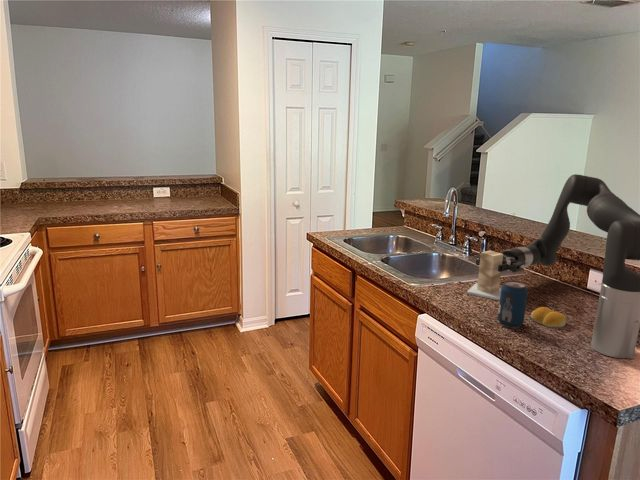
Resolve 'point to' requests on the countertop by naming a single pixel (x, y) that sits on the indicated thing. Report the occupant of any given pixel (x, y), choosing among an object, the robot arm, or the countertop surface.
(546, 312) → the bread roll
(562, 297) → the countertop surface
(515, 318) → the soda can
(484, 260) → the maple block
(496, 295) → the ceramic tile
